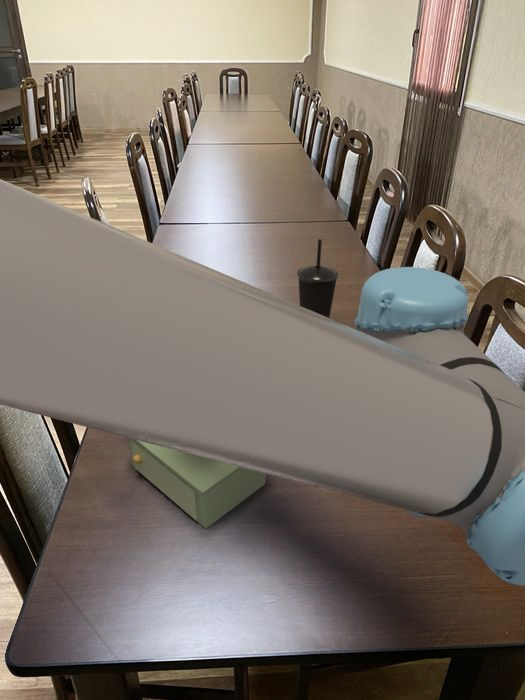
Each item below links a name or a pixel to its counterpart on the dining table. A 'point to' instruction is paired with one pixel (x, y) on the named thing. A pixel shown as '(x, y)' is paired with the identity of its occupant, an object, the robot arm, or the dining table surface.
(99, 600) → the dining table surface
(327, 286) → the drinking cup
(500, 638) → the dining table surface
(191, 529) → the dining table surface
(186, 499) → the cabinet
